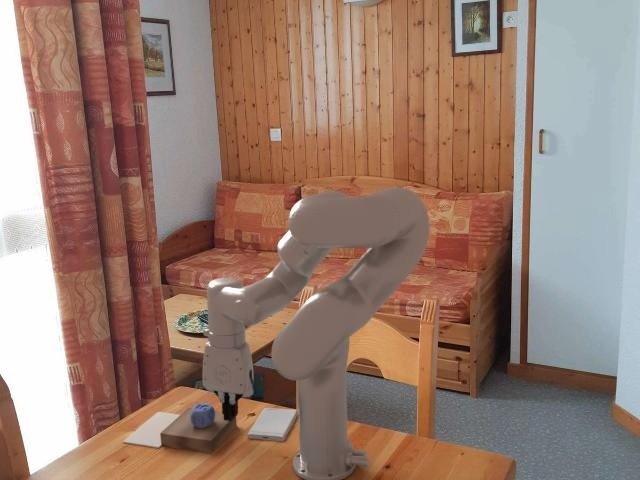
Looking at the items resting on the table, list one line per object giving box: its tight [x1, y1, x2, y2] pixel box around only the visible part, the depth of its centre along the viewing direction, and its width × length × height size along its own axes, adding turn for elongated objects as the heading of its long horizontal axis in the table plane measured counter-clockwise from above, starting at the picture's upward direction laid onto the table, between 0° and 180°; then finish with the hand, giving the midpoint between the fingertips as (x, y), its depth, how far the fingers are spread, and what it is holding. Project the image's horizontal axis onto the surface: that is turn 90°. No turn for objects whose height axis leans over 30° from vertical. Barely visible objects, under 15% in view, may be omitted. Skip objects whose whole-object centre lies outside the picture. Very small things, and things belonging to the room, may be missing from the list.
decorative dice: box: [191, 402, 216, 428], centre depth 139 cm, size 4×4×4 cm
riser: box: [160, 407, 238, 455], centre depth 140 cm, size 12×12×3 cm
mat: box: [122, 411, 181, 449], centre depth 144 cm, size 9×14×1 cm, turn 162°
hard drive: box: [246, 407, 298, 442], centre depth 144 cm, size 2×8×12 cm
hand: (230, 417), depth 137 cm, fingers closed
